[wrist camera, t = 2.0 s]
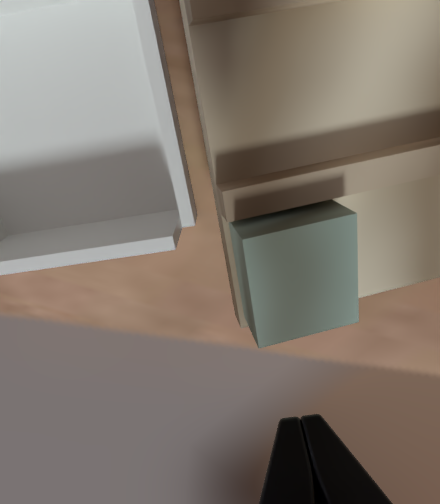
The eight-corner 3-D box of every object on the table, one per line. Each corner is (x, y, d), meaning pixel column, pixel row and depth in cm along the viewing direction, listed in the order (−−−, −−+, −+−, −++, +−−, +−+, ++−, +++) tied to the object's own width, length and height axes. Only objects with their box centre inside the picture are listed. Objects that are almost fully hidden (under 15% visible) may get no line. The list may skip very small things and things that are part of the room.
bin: (147, -30, 15) (121, -67, 11) (197, 214, 19) (190, 247, 15) (-92, 20, 15) (-190, 2, 12) (6, 244, 20) (-44, 281, 16)
